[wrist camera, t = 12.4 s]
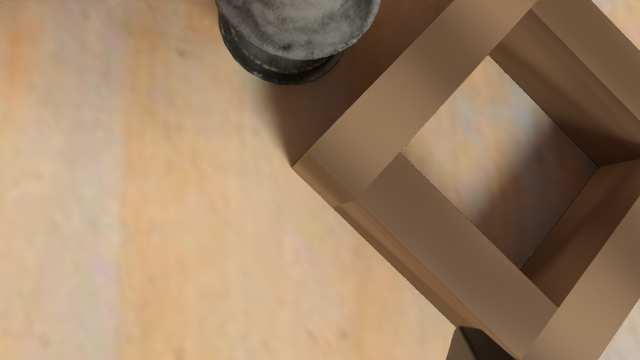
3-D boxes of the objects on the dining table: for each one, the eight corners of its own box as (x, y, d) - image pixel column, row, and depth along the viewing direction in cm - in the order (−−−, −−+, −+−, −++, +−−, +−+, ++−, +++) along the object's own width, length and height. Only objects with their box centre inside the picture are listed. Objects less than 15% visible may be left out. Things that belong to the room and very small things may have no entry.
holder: (506, 375, 19) (567, 404, 16) (291, 168, 18) (306, 151, 15) (658, 166, 22) (737, 152, 18) (475, -21, 21) (523, -71, 18)
